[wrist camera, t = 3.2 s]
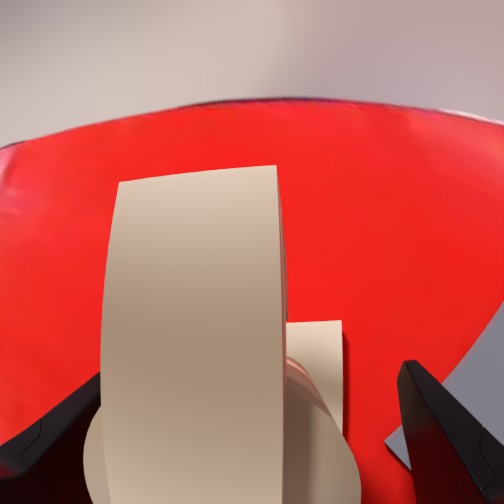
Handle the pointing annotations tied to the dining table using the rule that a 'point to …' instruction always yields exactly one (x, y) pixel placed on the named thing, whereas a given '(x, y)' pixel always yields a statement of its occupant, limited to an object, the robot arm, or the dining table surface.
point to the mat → (474, 385)
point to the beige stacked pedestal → (212, 355)
